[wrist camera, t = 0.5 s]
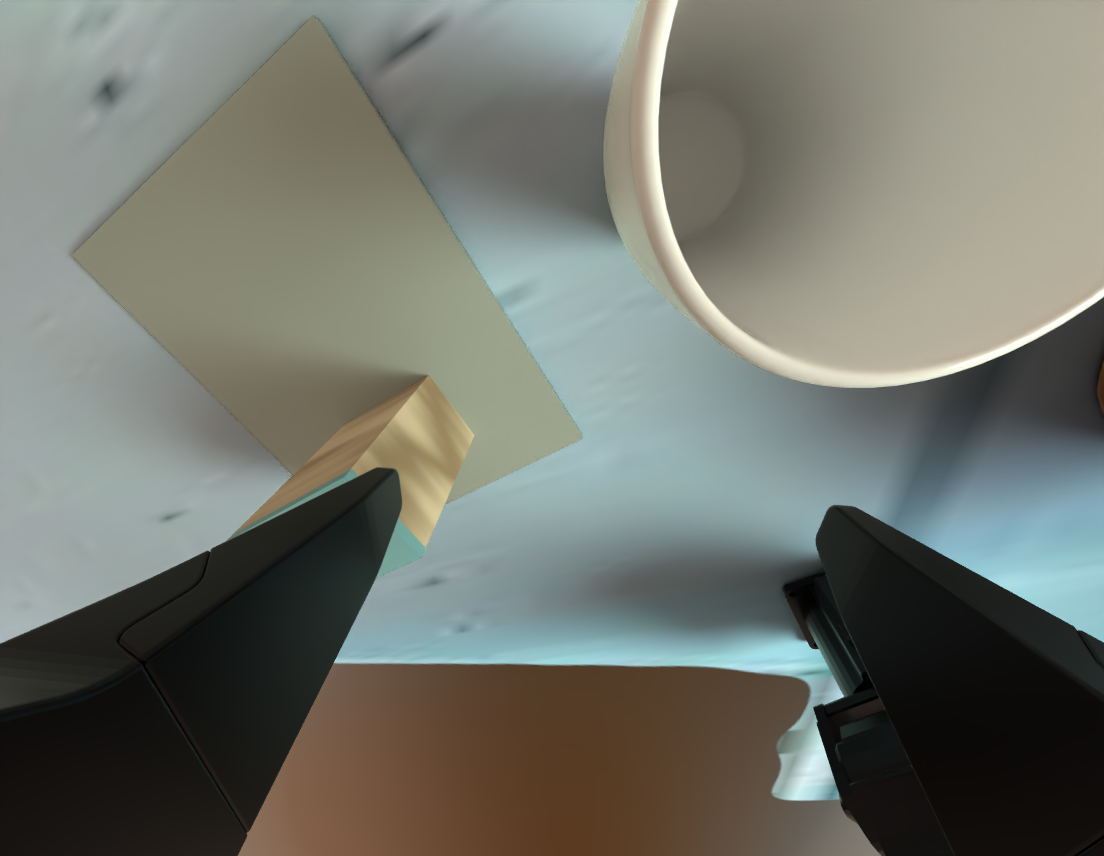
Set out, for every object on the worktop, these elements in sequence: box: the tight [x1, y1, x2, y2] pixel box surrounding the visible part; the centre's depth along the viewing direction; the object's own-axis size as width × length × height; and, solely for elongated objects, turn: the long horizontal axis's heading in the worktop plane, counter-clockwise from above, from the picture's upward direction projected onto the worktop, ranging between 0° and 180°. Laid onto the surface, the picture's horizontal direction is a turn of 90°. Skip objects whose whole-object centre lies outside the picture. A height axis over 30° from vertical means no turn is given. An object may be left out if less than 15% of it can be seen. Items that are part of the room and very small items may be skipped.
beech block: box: [227, 375, 474, 578], centre depth 20 cm, size 4×6×9 cm, turn 121°
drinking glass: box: [603, 0, 1104, 388], centre depth 11 cm, size 7×7×15 cm
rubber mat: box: [71, 16, 582, 504], centre depth 22 cm, size 20×16×1 cm
